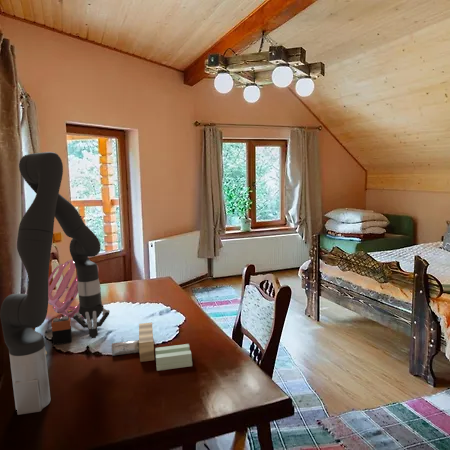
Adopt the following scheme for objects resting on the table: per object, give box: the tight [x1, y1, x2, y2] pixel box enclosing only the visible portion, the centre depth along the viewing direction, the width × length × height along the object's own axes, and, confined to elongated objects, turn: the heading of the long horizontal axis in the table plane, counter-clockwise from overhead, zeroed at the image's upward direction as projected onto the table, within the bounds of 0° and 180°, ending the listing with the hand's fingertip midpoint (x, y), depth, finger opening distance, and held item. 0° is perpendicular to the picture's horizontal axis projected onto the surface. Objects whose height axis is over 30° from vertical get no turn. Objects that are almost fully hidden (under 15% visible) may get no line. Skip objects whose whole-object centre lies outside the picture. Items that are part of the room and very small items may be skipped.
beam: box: [138, 322, 156, 363], centre depth 147 cm, size 18×5×7 cm, turn 12°
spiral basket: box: [48, 259, 100, 319], centre depth 186 cm, size 28×28×27 cm
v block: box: [154, 343, 193, 372], centre depth 137 cm, size 10×12×4 cm
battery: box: [50, 316, 73, 346], centre depth 157 cm, size 4×7×10 cm, turn 107°
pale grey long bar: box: [111, 339, 140, 357], centre depth 146 cm, size 14×4×4 cm, turn 102°
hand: (93, 337), depth 142 cm, fingers closed
